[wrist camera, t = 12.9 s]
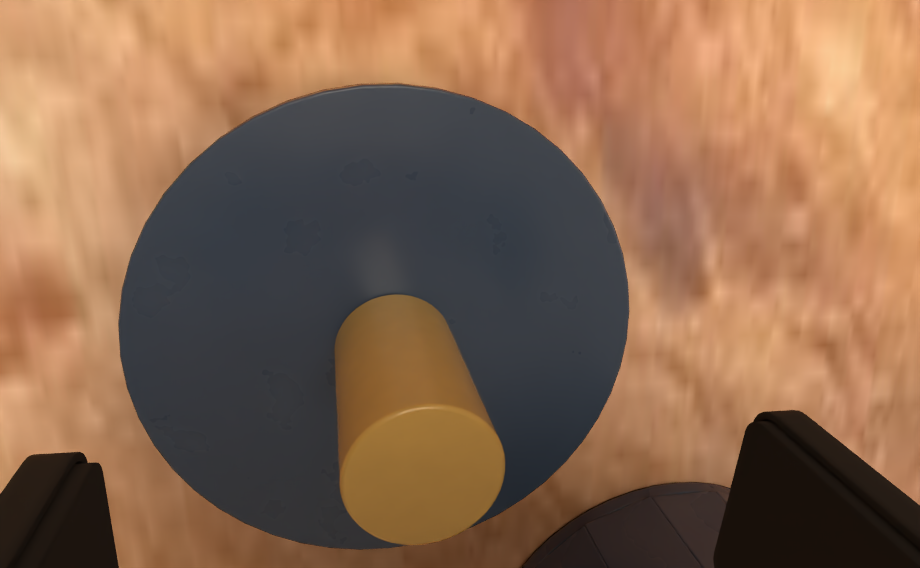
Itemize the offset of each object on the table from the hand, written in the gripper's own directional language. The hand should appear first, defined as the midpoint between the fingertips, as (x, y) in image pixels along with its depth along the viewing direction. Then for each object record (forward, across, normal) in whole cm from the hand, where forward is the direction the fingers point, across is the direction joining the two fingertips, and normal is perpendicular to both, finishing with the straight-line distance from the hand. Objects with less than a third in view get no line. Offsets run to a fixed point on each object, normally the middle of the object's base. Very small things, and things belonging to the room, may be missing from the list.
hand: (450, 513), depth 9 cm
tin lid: (+7, 0, 0) cm, 7 cm away
